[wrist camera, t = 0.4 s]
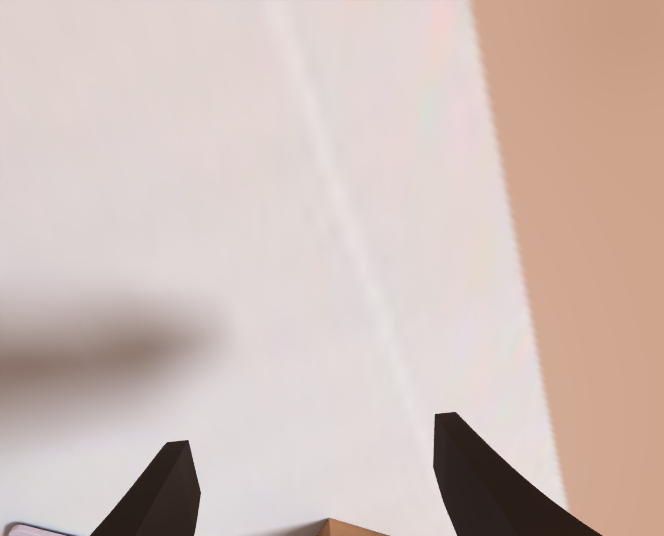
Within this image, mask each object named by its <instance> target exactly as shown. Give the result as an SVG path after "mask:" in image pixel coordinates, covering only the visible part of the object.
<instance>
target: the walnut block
mask: <svg viewBox="0 0 664 536" xmlns="http://www.w3.org/2000/svg"><path fill="white" fill-rule="evenodd" d="M317 536H388V535H385V534H382V533H378V532H375V531H372V530H368V529H365V528H362V527H358V526H355V525H352V524H348V523H345V522H342V521H338V520H335V519H332V518H329V519H328V520H327V522H326V523H325V525H324V526H323V528H322V529H321V531H320V532H319V534H318V535H317Z"/></svg>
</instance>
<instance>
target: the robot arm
mask: <svg viewBox="0 0 664 536" xmlns="http://www.w3.org/2000/svg"><path fill="white" fill-rule="evenodd" d="M433 468H434V471H435V475H436V478H437V482H438V485H439V489H440V492H441V495H442V499H443V502H444V505H445V507H446V510H447V512H448V514H449V517H450V519H451V522H452V524H453V527H454V529H455V531H456V534H457V536H602V535H600V534H599V533H597V532H596V531H594V530H593V529H591V528H590V527H588V526H587V525H585V524H583V523H582V522H581V521H579V520H578V519H576V518H575V517H574V516H572V515H571V514H570V513H568V512H567V511H565V510H564V509H563V508H561V507H560V506H559V505H557V504H556V503H555V502H553V501H552V500H551V499H549V498H548V497H547V496H546V495H544V494H543V493H542V492H541V491H539V490H538V489H537V488H536V487H535V486H533V485H532V484H531V483H530V482H529V481H527V480H526V479H525V478H524V477H523V476H522V475H520V474H519V473H518V472H517V471H516V470H515V469H514V468H512V467H511V466H510V465H509V464H508V463H507V462H506V461H505V460H504V459H503V458H502V457H501V456H499V455H498V454H497V453H496V452H495V451H494V450H493V449H492V448H491V447H490V446H489V445H488V444H487V443H486V442H485V441H484V440H483V439H482V438H481V437H480V436H479V435H478V434H477V433H476V432H475V431H474V430H473V429H472V428H471V427H470V426H469V425H468V424H467V423H466V422H465V421H464V420H463V419H462V418H461V417H460V416H459V415H458V414H457V413H456V412H451V413H441V414H435V427H434V460H433ZM200 495H201V492H200V487H199V483H198V479H197V475H196V470H195V466H194V462H193V458H192V454H191V449H190V445H189V441H188V440H185V441H176V442H167V443H166V444H165V445H164V446H163V448H162V449H161V450H160V451H159V453H158V454H157V455H156V456H155V458H154V459H153V460H152V462H151V463H150V464H149V465H148V467H147V468H146V469H145V471H144V472H143V473H142V474H141V476H140V477H139V478H138V479H137V481H136V482H135V483H134V485H133V486H132V487H131V488H130V489H129V491H128V492H127V493H126V494H125V496H124V497H123V498H122V499H121V500H120V502H119V503H118V504H117V505H116V506H115V508H114V509H113V510H112V511H111V512H110V514H109V515H108V516H107V517H106V518H105V519H104V520H103V521H102V523H101V524H100V525H99V526H98V527H97V528H96V529H95V530H94V532H93V533H92V534H91V535H90V536H194V533H195V528H196V522H197V516H198V509H199V502H200ZM8 536H65V535H61V534H57V533H53V532H49V531H45V530H41V529H37V528H33V527H29V526H25V525H15V526H13V528H12V529H11V530H10V532H9V534H8Z"/></svg>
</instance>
